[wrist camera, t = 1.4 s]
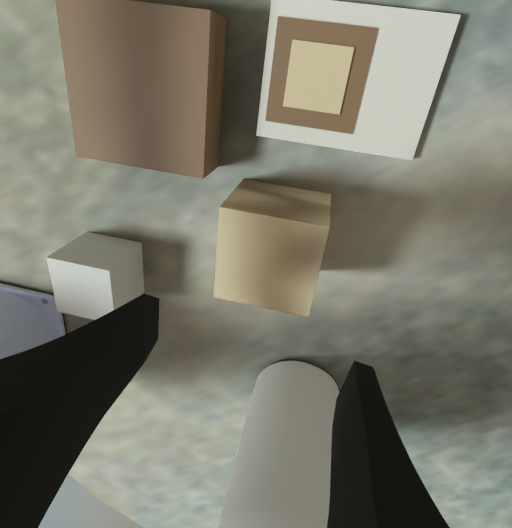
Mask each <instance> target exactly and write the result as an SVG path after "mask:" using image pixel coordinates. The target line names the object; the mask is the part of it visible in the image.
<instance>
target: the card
mask: <svg viewBox="0 0 512 528" xmlns="http://www.w3.org/2000/svg"><path fill="white" fill-rule="evenodd" d="M460 16H461V15H459V14H451V13H442V12H433V11H424V10H415V9H406V8H397V7H388V6H379V5H370V4H361V3H352V2H343V1H334V0H271V8H270V17H269V26H268V35H267V44H266V52H265V61H264V70H263V79H262V88H261V97H260V106H259V115H258V124H257V133H256V136H261V137H268V138H274V139H280V140H287V141H293V142H299V143H305V144H312V145H318V146H324V147H331V148H337V149H343V150H349V151H356V152H362V153H368V154H374V155H381V156H387V157H393V158H400V159H406V160H413V157H414V154H415V151H416V148H417V145H418V142H419V139H420V136H421V133H422V130H423V127H424V124H425V121H426V118H427V115H428V112H429V109H430V106H431V103H432V100H433V97H434V94H435V91H436V88H437V85H438V82H439V79H440V76H441V73H442V70H443V67H444V64H445V61H446V58H447V55H448V52H449V49H450V46H451V43H452V40H453V37H454V34H455V31H456V28H457V25H458V22H459V19H460Z"/></svg>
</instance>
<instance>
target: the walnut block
mask: <svg viewBox="0 0 512 528" xmlns="http://www.w3.org/2000/svg"><path fill="white" fill-rule="evenodd" d="M55 1H56V8H57V16H58V23H59V31H60V38H61V46H62V53H63V60H64V68H65V75H66V83H67V90H68V98H69V105H70V113H71V120H72V127H73V135H74V142H75V150H76V156H77V157H83V158H89V159H94V160H100V161H106V162H112V163H117V164H123V165H129V166H134V167H140V168H146V169H152V170H157V171H163V172H169V173H174V174H180V175H186V176H191V177H197V178H205V177H206V176H207V175H208V174H210V173H211V172H212V171H213V170H215V169H216V168H217V167H218V161H219V145H220V129H221V114H222V98H223V82H224V66H225V50H226V34H227V18H225V17H223V16H221V15H219V14H217V13H215V12H213V11H212V10H206V9H198V8H190V7H181V6H173V5H165V4H156V3H148V2H140V1H131V0H55Z"/></svg>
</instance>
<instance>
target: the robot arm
mask: <svg viewBox="0 0 512 528" xmlns="http://www.w3.org/2000/svg"><path fill="white" fill-rule="evenodd" d="M158 321H159V298H156V297H153V296H150V295H147V294H142V295H141V296H139V297H137V298H135V299H133V300H131V301H129V302H128V303H126V304H124V305H122V306H120V307H119V308H117V309H115V310H113V311H111V312H109V313H108V314H106V315H104V316H102V317H100V318H98V319H96V320H94V321H92V322H90V323H88V324H86V325H84V326H82V327H80V328H78V329H76V330H74V331H72V332H70V333H68V334H66V332H65V327H64V322H63V317H62V313H61V312H57V307H56V302H55V297H54V296H53V295H49V294H45V293H41V292H36V291H32V290H27V289H23V288H19V287H14V286H10V285H5V284H1V283H0V528H38V526H39V525H40V523H41V521H42V519H43V517H44V515H45V513H46V511H47V510H48V508H49V506H50V504H51V502H52V501H53V499H54V497H55V495H56V494H57V492H58V490H59V488H60V487H61V485H62V483H63V481H64V479H65V478H66V476H67V474H68V473H69V471H70V469H71V468H72V466H73V464H74V463H75V461H76V459H77V458H78V456H79V454H80V452H81V451H82V449H83V448H84V446H85V444H86V443H87V441H88V440H89V438H90V436H91V435H92V433H93V432H94V430H95V428H96V427H97V425H98V424H99V422H100V421H101V419H102V418H103V416H104V415H105V414H106V412H107V411H108V410H109V408H110V407H111V406H112V404H113V403H114V402H115V400H116V399H117V398H118V397H119V395H120V394H121V393H122V391H123V390H124V389H125V387H126V386H127V385H128V383H129V382H130V381H131V380H132V378H133V377H134V376H135V374H136V373H137V372H138V370H139V369H140V368H141V366H142V365H143V363H144V362H145V360H146V359H147V357H148V355H149V354H150V352H151V350H152V349H153V347H154V345H155V343H156V341H157V340H158ZM327 528H449V526H448V525H447V523H446V522H445V520H444V518H443V517H442V515H441V514H440V512H439V510H438V509H437V507H436V505H435V504H434V502H433V500H432V499H431V497H430V495H429V493H428V492H427V490H426V488H425V486H424V484H423V483H422V481H421V479H420V477H419V475H418V473H417V471H416V470H415V468H414V466H413V464H412V462H411V460H410V458H409V455H408V453H407V451H406V449H405V447H404V445H403V443H402V441H401V438H400V436H399V434H398V432H397V429H396V427H395V425H394V422H393V420H392V417H391V415H390V413H389V410H388V408H387V405H386V402H385V400H384V397H383V394H382V391H381V389H380V386H379V383H378V380H377V377H376V374H375V371H374V369H373V367H372V366H369V365H365V364H362V363H359V362H356V361H354V363H353V365H352V367H351V369H350V371H349V373H348V375H347V378H346V380H345V382H344V384H343V386H342V388H341V390H340V392H339V394H338V397H337V399H336V405H335V411H334V418H333V425H332V445H331V476H330V502H329V514H328V522H327Z"/></svg>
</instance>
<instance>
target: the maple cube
mask: <svg viewBox="0 0 512 528" xmlns="http://www.w3.org/2000/svg"><path fill="white" fill-rule="evenodd" d="M330 213H331V194H330V193H324V192H318V191H313V190H307V189H301V188H295V187H289V186H284V185H278V184H272V183H266V182H260V181H255V180H249V179H243V180H242V182H241V183H240V184H239V185H238V186H237V187H236V189H235V190H234V191H233V192H232V193H231V194H230V195H229V197H228V198H227V199H226V200H225V201H224V202H223V204H222V205H221V206H220V208H219V222H218V237H217V252H216V267H215V282H214V297H215V298H220V299H225V300H229V301H234V302H239V303H243V304H248V305H253V306H257V307H262V308H267V309H271V310H276V311H280V312H285V313H290V314H294V315H299V316H304V317H309V312H310V308H311V304H312V300H313V296H314V292H315V288H316V283H317V279H318V275H319V271H320V267H321V263H322V259H323V254H324V250H325V246H326V242H327V238H328V234H329V229H330Z"/></svg>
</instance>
